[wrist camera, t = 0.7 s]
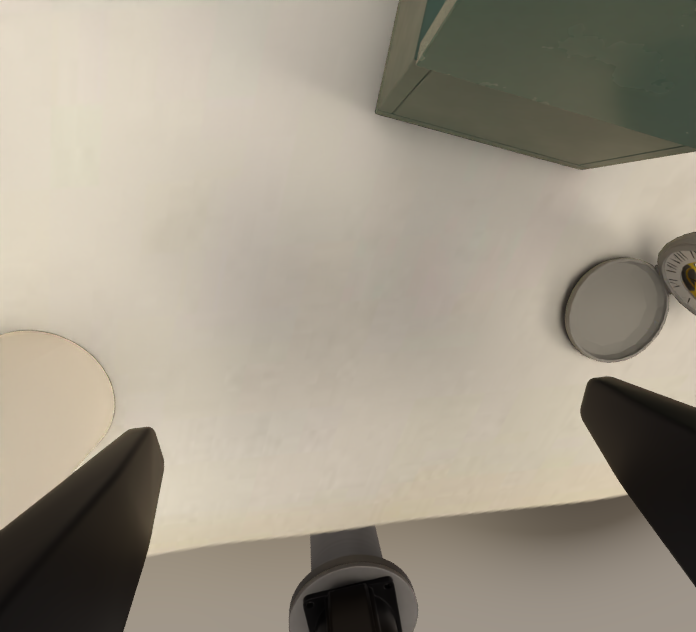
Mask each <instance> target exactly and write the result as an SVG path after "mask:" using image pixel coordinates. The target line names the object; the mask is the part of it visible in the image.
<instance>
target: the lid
mask: <svg viewBox="0 0 696 632" xmlns="http://www.w3.org/2000/svg"><path fill="white" fill-rule="evenodd" d="M416 65H417V66H418V67H422V68H425V69H429V70H432V71H435V72H439V73H442V74H445V75H449V76H452V77H455V78H459V79H462V80H465V81H469V82H472V83H476V84H479V85H482V86H486V87H489V88H492V89H496V90H499V91H502V92H506V93H509V94H512V95H516V96H519V97H523V98H526V99H529V100H533V101H536V102H539V103H543V104H546V105H549V106H553V107H556V108H559V109H563V110H566V111H570V112H573V113H576V114H580V115H583V116H586V117H590V118H593V119H596V120H600V121H603V122H607V123H610V124H613V125H617V126H620V127H623V128H627V129H630V130H633V131H637V132H640V133H643V134H647V135H650V136H654V137H657V138H660V139H664V140H667V141H670V142H674V143H677V144H680V145H684V146H687V147H690V148H694V149H696V0H446V1H445V3H444V5H443V6H442V8H441V10H440V11H439V13H438V15H437V16H436V18H435V20H434V21H433V23H432V25H431V26H430V28H429V30H428V31H427V33H426V35H425V36H424V38H423V40H422V41H421V43H420V47H419V52H418V56H417V61H416Z"/></svg>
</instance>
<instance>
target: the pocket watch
mask: <svg viewBox="0 0 696 632" xmlns="http://www.w3.org/2000/svg"><path fill="white" fill-rule="evenodd" d="M657 263H658V265H656V266H655V267H654V266H653V265H651V264H649V263H647V262H645V261H642V260H640V259H635V258H616V259H611V260H607V261H605V262H603V263H600V264H598V265H596V266H595V267H594V268H592V269H591V270H589V271H588V272H587V273H586V274H585V275H583V277H582V278H581V279H580V280H579V282H578V283H577V284H576V286H575V287H574V289H573V290H572V292H571V295H570V297H569V300H568V302H567V305H566V313H565V326H566V330H567V334H568V337H569V339H570V340H571V342H572V344H573V345H574V346H575V347H576V348H577V350H578V351H580V352H581V353H582V354H583V355H585V356H587V357H589V358H591V359H594V360H596V361H600V362H607V363H611V362H619V361H624V360H627V359H629V358H632V357H634V356H636V355H637V354H639V353H640V352H642V351H643V350H645V349H646V348H647V347H648V345H649V344H650V343H651V342H652V341H653V340H654V339H655V338H656V337H657V336H658V335H659V333H660V331H661V329H662V327H663V325H664V323H665V321H666V317H667V314H668V310H669V294H673V296H674V297H675V298H676V299H677V300H678V301H679V303H680V304H682V305H683V306H684V307H685V308H687V309H688V310H689V311H690V312H692V313H693V314H694V315H696V267H695V263H696V232H692V233H688V234H684V235H682V236H680V237H677V238H675V239H673V240H672V241H670V242H669V243H667V244H666V245H665V246H664V247H663V249H662V250H661V251H660V252H659V254H658V261H657Z"/></svg>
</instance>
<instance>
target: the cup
mask: <svg viewBox="0 0 696 632" xmlns="http://www.w3.org/2000/svg"><path fill="white" fill-rule="evenodd" d="M114 409H115V400H114V393H113V389H112V386H111V383H110V380H109V378H108V376H107V374H106V373H105V371H104V369H103V368H102V367H101V365H100V364H99V363H98V362H97V361H96V359H95V358H94V357H93V356H92V355H90V354H89V353H88V352H87V351H86V350H84V349H83V348H82V347H80V346H79V345H77V344H75V343H73V342H72V341H70V340H67V339H65V338H63V337H60V336H57V335H54V334H50V333H46V332H40V331H15V332H9V333H5V334H2V335H0V530H1V529H3V528H4V527H5V526H6V525H8V524H9V523H10V522H12V521H13V520H14V519H15V518H17V517H18V516H19V515H20V514H22V513H23V512H24V511H26V510H27V509H28V508H29V507H31V506H32V505H33V504H34V503H36V502H37V501H38V500H39V499H41V498H42V497H43V496H45V495H46V494H47V493H48V492H50V491H51V490H52V489H53V488H55V487H56V486H57V485H59V484H60V483H61V482H62V481H64V480H65V479H66V478H67V477H69V476H70V475H71V473H72V472H73V471H74V470H75V469H76V468H77V467H78V466H79V465H80V463H81V462H82V461H83V460H84V459H85V458H86V457H87V456H88V454H89V453H90V452H91V451H92V450H93V449H94V448H95V447H96V445H97V444H98V443H99V442H100V441H101V440H102V439H103V437H104V436H105V434H106V433H107V431H108V429H109V427H110V425H111V423H112V420H113V416H114Z"/></svg>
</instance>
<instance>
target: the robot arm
mask: <svg viewBox="0 0 696 632" xmlns="http://www.w3.org/2000/svg"><path fill="white" fill-rule="evenodd" d="M580 413H581V417H582V420H583V422H584V424H585V425H586V427H587V429H588V430H589V432H590V434H591V435H592V437H593V439H594V440H595V442H596V444H597V445H598V447H599V449H600V450H601V452H602V454H603V455H604V457H605V459H606V460H607V462H608V464H609V466H610V467H611V469H612V471H613V472H614V474H615V475H616V477H617V479H618V480H619V482H620V483H621V485H622V486H623V488H624V489H625V491H626V492H627V493H628V495H629V496H630V498H631V499H632V500H633V502H634V503H635V504H636V506H637V507H638V509H639V510H640V511H641V513H642V514H643V515H644V517H645V518H646V519H647V521H648V522H649V524H650V525H651V526H652V528H653V529H654V531H655V532H656V533H657V535H658V536H659V537H660V539H661V540H662V542H663V543H664V544H665V546H666V547H667V548H668V549H669V551H670V553H671V554H672V555H673V557H674V558H675V559H676V561H677V562H678V564H679V565H680V566H681V568H682V569H683V570H684V572H685V573H686V574H687V576H688V577H689V579H690V580H691V581H692V583H693V584H694V585H695V587H696V408H695V407H693V406H690V405H687V404H684V403H682V402H679V401H676V400H673V399H671V398H668V397H665V396H663V395H660V394H657V393H654V392H652V391H649V390H646V389H644V388H641V387H638V386H635V385H633V384H630V383H627V382H624V381H622V380H619V379H616V378H614V377H598V378H592V379H590V380H589V381H588V383H587V386H586V389H585V393H584V397H583V401H582V405H581V409H580ZM163 472H164V459H163V455H162V452H161V449H160V446H159V443H158V439H157V436H156V433H155V431H154V430H153V428H151V427H142V428H133V429H129V430H128V431H126V432H125V433H123V434H122V435H121V436H120V437H118V438H117V439H116V440H115V441H113V442H112V443H111V444H109V445H108V446H107V447H106V448H104V449H103V450H102V451H101V452H99V453H98V454H97V455H95V456H94V457H93V458H92V459H90V460H89V461H88V462H87V463H85V464H84V465H83V466H81V467H80V468H79V469H78V470H76V471H75V472H74V473H73V474H71V475H70V476H69V477H67V478H66V479H65V480H64V481H62V482H61V483H60V484H59V485H57V486H56V487H55V488H53V489H52V490H51V491H50V492H48V493H47V494H46V495H45V496H43V497H42V498H41V499H39V500H38V501H37V502H36V503H34V504H33V505H32V506H31V507H29V508H28V509H27V510H26V511H24V512H23V513H22V514H20V515H19V516H18V517H17V518H15V519H14V520H13V521H12V522H10V523H9V524H8V525H6V526H5V527H4V528H3V529H1V530H0V632H123V630H124V627H125V624H126V621H127V618H128V614H129V611H130V607H131V605H132V601H133V598H134V595H135V591H136V588H137V585H138V582H139V578H140V575H141V572H142V569H143V566H144V562H145V559H146V555H147V552H148V548H149V543H150V539H151V534H152V529H153V524H154V519H155V513H156V508H157V503H158V498H159V493H160V487H161V482H162V477H163ZM385 584H387V585H385ZM309 602H311V603H309ZM303 609H304V613H305V617H306V621H307V625H308V629H309V632H403V631H402V626H401V620H400V614H399V609H398V603H397V597H396V591H395V586H394V582H393V579H392V577H390V576H384V577H379V578H375V579H371V580H367V581H363V582H358V583H354V584H350V585H346V586H342V587H337V588H333V589H329V590H325V591H321V592H317V593H312V594H308V595H306V596H305V597H304V598H303Z"/></svg>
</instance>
